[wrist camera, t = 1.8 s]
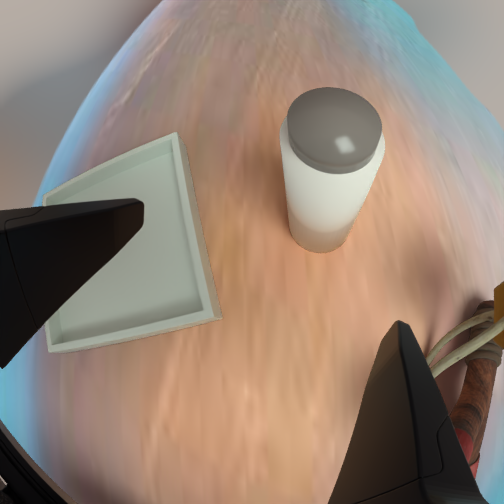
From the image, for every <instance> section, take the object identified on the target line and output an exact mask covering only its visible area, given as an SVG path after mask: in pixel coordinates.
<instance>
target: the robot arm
mask: <svg viewBox="0 0 504 504" xmlns="http://www.w3.org/2000/svg"><path fill="white" fill-rule="evenodd" d="M143 224H144V203H143V202H142V201H140V200H138V199H136V198H125V199H111V200H99V201H87V202H77V203H67V204H57V205H48V206H40V207H31V208H21V209H11V210H0V367H1V369H3V368H4V367H5V366H6V365H7V364H8V363H9V362H10V361H11V360H12V358H13V357H14V356H15V355H16V354H17V353H18V352H19V351H20V349H21V348H22V347H23V346H24V345H25V344H26V343H27V342H28V341H29V340H30V339H31V337H32V336H33V335H34V334H35V333H36V332H37V331H38V330H39V329H40V328H41V327H42V326H43V325H44V323H45V322H46V321H47V320H48V319H49V318H50V317H51V316H52V315H53V314H54V313H55V312H56V311H57V310H58V309H59V308H60V307H61V306H62V305H63V304H64V303H65V302H66V301H67V300H68V299H69V298H70V297H71V296H72V295H74V294H75V293H76V292H77V291H78V290H79V289H80V288H81V287H82V286H83V285H84V284H85V283H86V282H87V281H88V280H89V279H90V278H91V277H93V276H94V275H95V274H96V273H97V272H98V271H99V270H100V269H101V268H102V267H103V266H105V265H106V264H107V263H108V262H109V261H110V260H111V259H112V258H113V257H114V256H115V255H116V254H117V253H118V252H119V251H120V250H121V249H122V248H123V247H124V246H125V245H126V244H127V243H128V242H129V241H130V240H131V239H132V238H133V237H134V235H135V234H136V233H137V232H138V231H139V230H140V229H141V228H142V226H143ZM0 475H1V477H2V478H3V479H4V480H5V482H6V483H7V485H5V484H4V483H3V481H2V480H1V479H0V504H78V503H76V502H75V501H74V500H73V499H72V498H71V497H70V496H68V495H67V494H66V493H65V492H64V491H63V490H62V489H61V488H60V487H59V486H58V485H57V484H56V483H55V482H54V481H53V480H52V479H51V478H50V477H49V476H48V475H47V474H46V473H45V472H44V471H43V470H42V469H41V468H40V467H39V466H38V465H37V464H36V463H35V462H34V460H33V459H32V458H31V457H30V456H29V455H28V454H27V453H26V451H25V450H24V449H23V448H22V447H21V445H20V444H19V443H18V442H17V441H16V439H15V438H14V437H13V436H12V434H11V433H10V432H9V430H8V429H7V428H6V426H5V425H4V424H3V422H2V421H1V420H0ZM328 504H489V503H488V502H487V501H486V500H485V499H484V498H483V496H482V495H481V493H480V491H479V488H478V486H477V483H476V481H475V478H474V476H473V473H472V471H471V468H470V466H469V464H468V461H467V459H466V456H465V454H464V452H463V449H462V447H461V444H460V442H459V440H458V437H457V434H456V432H455V429H454V426H453V424H452V421H451V418H450V416H448V411H447V408H446V406H445V403H444V401H443V398H442V396H441V393H440V391H439V389H438V386H437V384H436V381H435V379H434V377H433V375H432V372H431V370H430V368H429V366H428V363H427V361H426V359H425V357H424V355H423V352H422V350H421V348H420V346H419V344H418V342H417V340H416V338H415V336H414V334H413V332H412V330H411V328H410V326H409V325H408V324H406V323H404V322H402V321H400V320H397V321H396V322H395V323H394V324H393V325H392V327H391V328H390V329H389V331H388V332H387V333H386V335H385V336H384V338H383V339H382V341H381V343H380V346H379V349H378V352H377V355H376V358H375V361H374V364H373V367H372V370H371V373H370V376H369V378H368V381H367V384H366V387H365V391H364V394H363V398H362V402H361V406H360V410H359V414H358V417H357V421H356V424H355V428H354V431H353V434H352V437H351V441H350V444H349V447H348V450H347V453H346V456H345V459H344V462H343V465H342V468H341V471H340V473H339V476H338V479H337V481H336V484H335V487H334V489H333V492H332V494H331V497H330V499H329V502H328Z"/></svg>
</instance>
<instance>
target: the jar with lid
mask: <svg viewBox="0 0 504 504" xmlns="http://www.w3.org/2000/svg"><path fill="white" fill-rule="evenodd" d="M280 146H281V154H282V163H283V171H284V180H285V190H286V199H287V209H288V219H289V228H290V232H291V235H292V237H293V238H294V240H295V241H296V242H297V243H298V244H299V245H300V246H301V247H302V248H304V249H306V250H308V251H311V252H315V253H327V252H331V251H333V250H335V249H337V248H339V247H340V246H341V245H342V244H343V243H344V242H345V241H346V239H347V237H348V235H349V233H350V231H351V229H352V227H353V225H354V223H355V220H356V218H357V216H358V214H359V212H360V210H361V207H362V205H363V203H364V201H365V198H366V196H367V194H368V192H369V189H370V187H371V185H372V183H373V180H374V178H375V176H376V173H377V171H378V168H379V166H380V164H381V161H382V159H383V156H384V152H385V140H384V136H383V133H382V123H381V119H380V117H379V115H378V113H377V111H376V110H375V108H374V107H373V106H372V105H371V104H370V103H369V102H368V101H367V100H365V99H364V98H363V97H361V96H359V95H357V94H356V93H353V92H351V91H348V90H345V89H340V88H331V87H326V88H317V89H313V90H310V91H307V92H305V93H303V94H302V95H300V96H299V97H298V98H296V99H295V100H294V102H293V103H292V104H291V106H290V108H289V110H288V114H287V116H286V118H285V119H284V121H283V123H282V125H281V128H280Z"/></svg>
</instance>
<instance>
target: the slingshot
mask: <svg viewBox="0 0 504 504" xmlns="http://www.w3.org/2000/svg"><path fill="white" fill-rule="evenodd" d="M470 327H471V331H470V338H469V342H467V343H465V344H464V345H462V346H461V347H459V348H457V349H456V350H454V351H452V352H451V353H449V354H448V355H446V356H445V357H444V358H442V359H441V360H440V361H438V362H437V363H436V364H435V365H434V366H433V367H431V369H430V370H431V372H432V375H433V377H434V378H435V377H436V376H437V375H439V374H440V373H441V372H442V371H444V370H445V369H446V368H448V367H449V366H451V365H452V364H454V363H456V362H457V361H459V360H460V359H462V358H464V357H465V356H467V357H466V359H465V362H466V364H467V371H466V376H465V380H464V384H463V388H462V391H461V394H460V397H459V399H458V401H457V403H456V405H455V407H454V409H453V411H452V412H451V414H450V418H451V421H452V424H453V426H454V429H455V432H456V434H457V437H458V440H459V442H460V444H461V447H462V449H463V452H464V454H465V456H466V459H467V461H468V464H469V466H470V468H471V471H472V473H473V476H474V478H475V477H476V473H477V468H478V463H479V458H480V453H479V451H480V448H481V444H482V440H483V436H484V432H485V427H486V423H487V418H488V413H489V408H490V403H491V397H492V391H493V386H494V381H495V376H496V370H497V367H498V366H499V365H500V364H501V357H502V350H503V349H504V281H503V282H502V283H501V284H500V285H498V286H497V287H496V288H495V289H494V301H493V300H489V301H484V302H482V303H481V304H480V305H479V306H478V308H477V311H476V313H474V315H473V317H472V318H470V319H468V320H466V321H464V322H463V323H461V324H459V325H458V326H456V327H455V328H453V329H452V330H451V331H450V332H448V333H447V334H446V335H445V336H444V337H443V338H442V339H441V340H440V341H439V342H438V343H437V344H436V345H435V346H434V347H433V349H432V350H431V352H430V353H429V354H428V356H427V357H426V361H427V363H428V366H429V365H430V363H431V362H432V360H433V359H434V357H435V356H436V354H437V353H438V352H439V351H440V350H441V348H442V347H443V346H444V345H445V344H446V343H447V342H449V341H450V340H451V339H452V338H453V337H455V336H456V335H458V334H459V333H461V332H462V331H464V330H465V329H468V328H470Z"/></svg>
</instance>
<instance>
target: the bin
mask: <svg viewBox="0 0 504 504" xmlns="http://www.w3.org/2000/svg"><path fill="white" fill-rule="evenodd" d="M125 198H136V199H138V200H140V201H142V202H143V203H144V224H143V226H142V228H141V229H140V230H139V231H138V232H137V233H136V234H135V235H134V237H133V238H132V239H131V240H130V241H129V242H128V243H127V244H126V245H125V246H124V247H123V248H122V249H121V250H120V251H119V252H118V253H117V254H116V255H115V256H114V257H113V258H112V259H111V260H110V261H109V262H108V263H107V264H106V265H105V266H103V267H102V268H101V269H100V270H99V271H98V272H97V273H96V274H95V275H94V276H93V277H91V278H90V279H89V280H88V281H87V282H86V283H85V284H84V285H83V286H82V287H81V288H80V289H79V290H78V291H77V292H76V293H75V294H74V295H72V296H71V297H70V298H69V299H68V300H67V301H66V302H65V303H64V304H63V305H62V306H61V307H60V308H59V309H58V310H57V311H56V312H55V313H54V314H53V315H52V316H51V317H50V318H49V319H48V320H47V321H46V322H45V331H46V339H47V346H48V352H49V353H69V352H75V351H80V350H86V349H91V348H96V347H102V346H107V345H112V344H117V343H122V342H126V341H131V340H136V339H140V338H145V337H150V336H154V335H159V334H163V333H167V332H172V331H176V330H180V329H184V328H188V327H193V326H197V325H201V324H205V323H209V322H213V321H217V320H220V319H223V316H222V312H221V308H220V304H219V300H218V296H217V292H216V287H215V283H214V279H213V275H212V270H211V266H210V261H209V257H208V253H207V248H206V244H205V239H204V234H203V230H202V225H201V220H200V216H199V211H198V206H197V201H196V196H195V191H194V186H193V181H192V176H191V171H190V166H189V160H188V155H187V149H186V146H185V144H184V143H183V141H182V139H181V138H180V136H179V134H178V133H177V132H175V133H172V134H169V135H167V136H164V137H162V138H159V139H157V140H154V141H152V142H149V143H147V144H145V145H142V146H140V147H137V148H135V149H133V150H131V151H128V152H126V153H124V154H122V155H119V156H117V157H115V158H113V159H111V160H109V161H107V162H104V163H102V164H100V165H98V166H96V167H94V168H92V169H90V170H88V171H86V172H84V173H82V174H80V175H79V176H77V177H75V178H73V179H71V180H69V181H67V182H65V183H64V184H62V185H60V186H58V187H56V188H55V189H53V190H51V191H49V192H48V193H46V194H44V195H43V201H42V206H48V205H57V204H67V203H77V202H87V201H99V200H111V199H125Z"/></svg>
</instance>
